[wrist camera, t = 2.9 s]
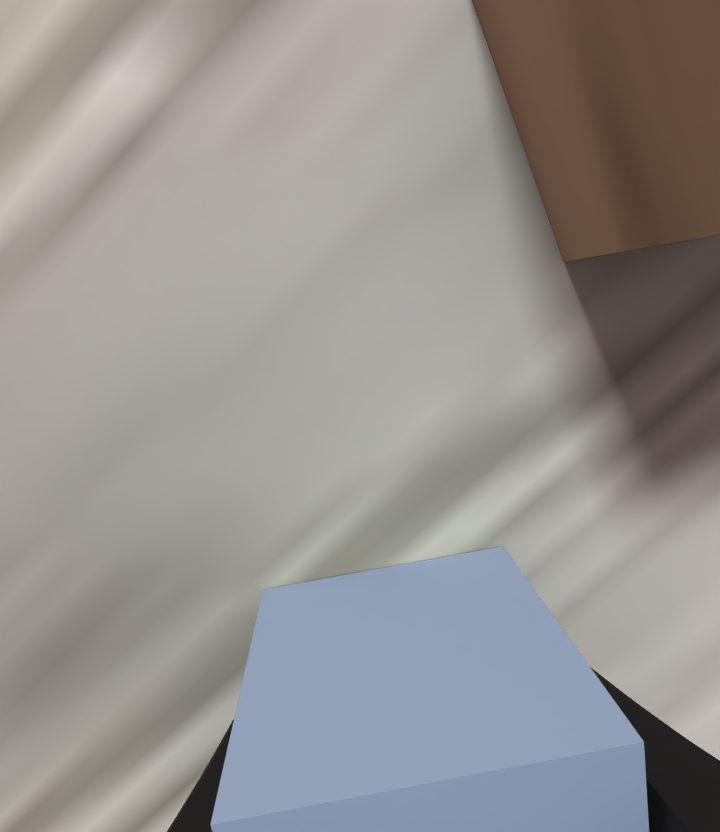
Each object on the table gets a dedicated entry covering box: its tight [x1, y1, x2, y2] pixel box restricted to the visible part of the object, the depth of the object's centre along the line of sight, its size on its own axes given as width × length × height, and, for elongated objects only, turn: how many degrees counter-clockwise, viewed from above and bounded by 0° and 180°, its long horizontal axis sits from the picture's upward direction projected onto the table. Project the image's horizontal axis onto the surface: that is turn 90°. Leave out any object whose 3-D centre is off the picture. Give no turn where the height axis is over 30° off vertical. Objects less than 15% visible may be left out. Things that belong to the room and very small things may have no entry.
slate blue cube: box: [210, 546, 649, 832], centre depth 9 cm, size 5×5×5 cm
